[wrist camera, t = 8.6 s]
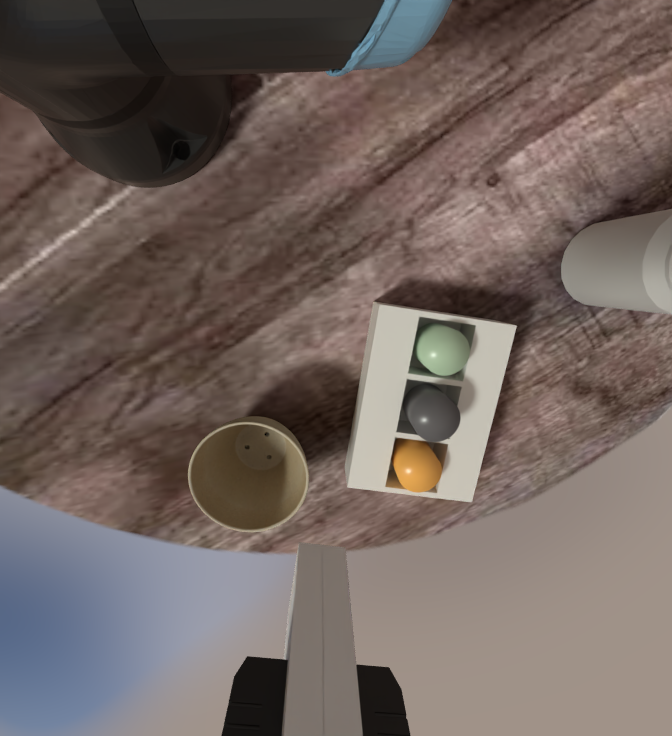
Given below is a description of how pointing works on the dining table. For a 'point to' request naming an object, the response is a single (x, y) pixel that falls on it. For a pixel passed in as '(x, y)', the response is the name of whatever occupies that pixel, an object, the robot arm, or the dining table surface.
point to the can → (622, 263)
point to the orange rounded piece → (415, 464)
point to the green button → (441, 349)
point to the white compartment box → (403, 372)
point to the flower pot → (249, 474)
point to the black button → (431, 412)
